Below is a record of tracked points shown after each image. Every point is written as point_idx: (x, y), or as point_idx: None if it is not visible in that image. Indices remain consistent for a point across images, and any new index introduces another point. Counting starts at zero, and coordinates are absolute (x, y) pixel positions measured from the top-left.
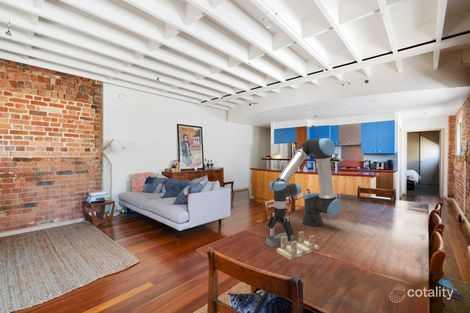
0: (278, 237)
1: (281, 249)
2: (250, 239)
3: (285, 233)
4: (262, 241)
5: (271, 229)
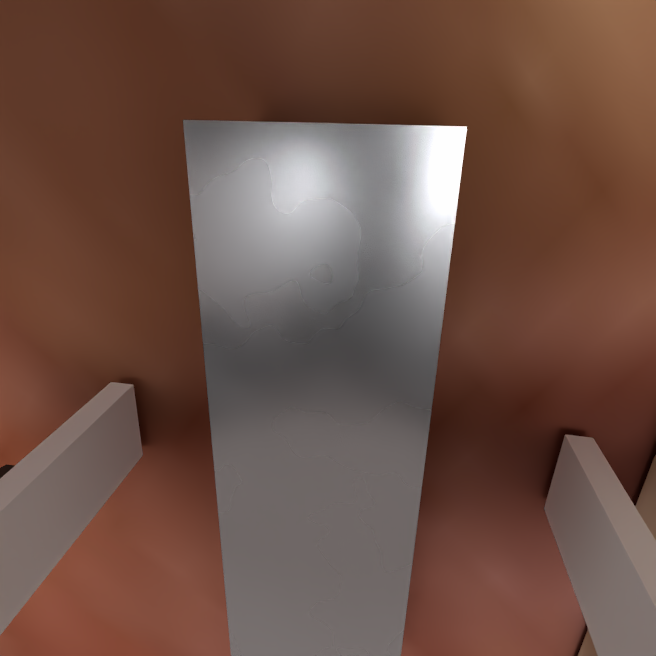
0: (379, 640)
1: None
2: (15, 617)
3: (290, 337)
4: (144, 570)
5: (4, 615)
